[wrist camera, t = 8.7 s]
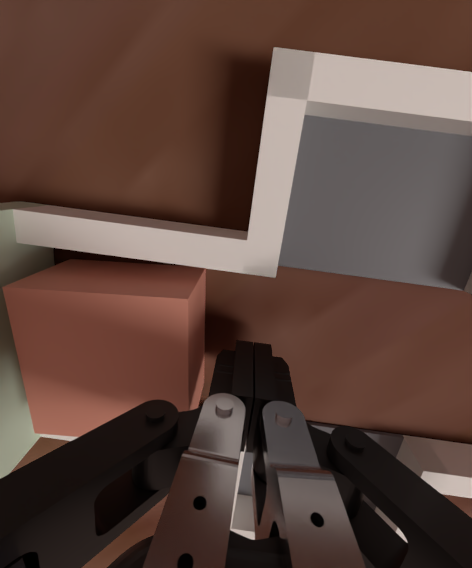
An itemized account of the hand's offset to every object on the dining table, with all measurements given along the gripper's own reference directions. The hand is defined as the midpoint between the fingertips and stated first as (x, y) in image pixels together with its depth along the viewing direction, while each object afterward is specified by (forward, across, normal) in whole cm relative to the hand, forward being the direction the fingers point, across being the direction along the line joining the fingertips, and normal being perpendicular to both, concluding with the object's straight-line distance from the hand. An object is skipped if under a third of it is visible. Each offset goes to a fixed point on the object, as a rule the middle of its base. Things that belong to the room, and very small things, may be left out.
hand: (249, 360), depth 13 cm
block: (+1, +5, 0) cm, 5 cm away
